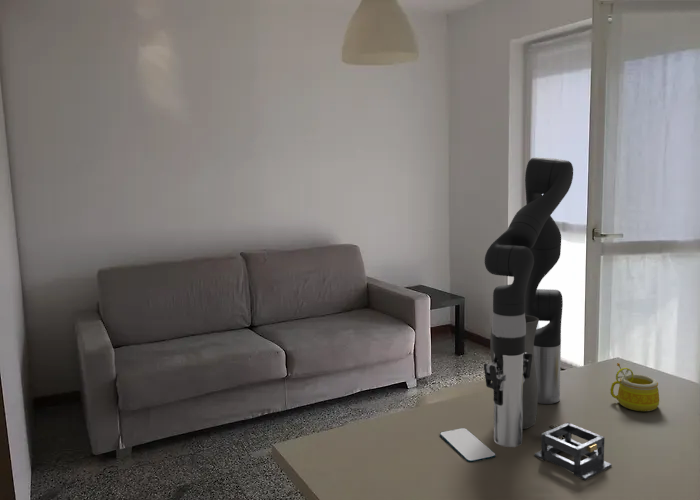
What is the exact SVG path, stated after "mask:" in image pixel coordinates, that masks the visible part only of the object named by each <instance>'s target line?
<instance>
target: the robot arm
mask: <svg viewBox="0 0 700 500" xmlns="http://www.w3.org/2000/svg"><path fill="white" fill-rule="evenodd" d="M524 174H525V175H524V176H525V179H524V185H525V186H524V187H525V201H526V202H525V203H526V204H525V205H524V206H522V207H521V208H520V209H519V210H518V211H517V212H516V214H514V216H513V218H512V220H511V222H510V224H509V226H508V228H507V230H505V231H503V233H502V234H500V235H499V237H498V238H496V239H495V240H494V241H493V242H492V243H491V244H490V245H489V247H488V248H487V250H486V252H485V255H484V266H485V269H486V270H487V272H488V273H490V274H491V275H493V276H501V277H502V276H504V277H513V281H512V283H511V284H502V285H498V286H496V287H495V288H494V290H493V292H492V319H491V328H492V350H493V352H494V354H495V357H494V360H493V362H492V361H491V362H490V363H487V362H486V363H484V365H483V370H484V377H485V378H484V379H485V384H486V385H485V386H486V387H487V388H489V389H492V390H493V403H494V402H495V404H497V405H500V406H501V405H503V391H502V390H503V382H504V381H505V380H506V375H504V376H503V377H499V375H498V373H497V372H498V371H499V369H500V370H502V369H503V358H502V356H503V355H507V356H516V355H521V354H523V371H524V367H525V368H526V371H525V372H523V383H524V381H525V379H526V378H527V379H528V378H529V377H530V370H531V363H532V354H530V353H527V352H525V350H526V319H525V315H529V316H534V317H537V318H538V319H539V321H540V322H548V323H547V324H546V325H544V326H542V327H539V328H537V329H536V333H535V338H534V360H535V368H536V376H537V391H538V401H537V404H544V405H546V404H547V405H551V404H556V403H558V402H560V400H561V399H560V398H561V397H560V396H561V361H562V359H561V358H562V357H561V355H562V354H561V352H562V351H561V350H562V348H561V347H562V317H563V305H564V304H563V295H562V293H561V291H560V290H558V289H545V288H544V289H543V288H542V289H541V288H538V287H539V285H540V283H541V282H542V280H543V279H544V278H545V277H546V276H547V275H548V274H549V273H550V272H551V270H552V269H553V268H554V266H555V265H556V264H557V263H558V261H559V259H560V257H561V248H562V234H561V231H560V228H559V226H558V225H557V223H556V221H555V220H554V218H553V217H552V213H554V212H555V210H556V209H557V208H558V206H559V205H560V204H561V202H562V201H563V200H564V198H565V197H566V196H567V194H568V192H569V191H570V188H571V186H572V184H573V179H574V166H573V164H572V162H571V161H569V160H566V159H562V158H551V157H542V156H534V157H532V158H529V160H528V161H527V164H526V168H525V173H524ZM498 379H500V384H498Z"/></svg>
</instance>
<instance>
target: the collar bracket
mask: <svg viewBox="0 0 700 500" xmlns="http://www.w3.org/2000/svg"><path fill="white" fill-rule="evenodd" d="M572 435H574V436H576V437H578V438H580V439H583V440H586V441H587V442H584V443H581V442H579V441H576V440H574V439H572ZM563 436H564V438H563V439H560V437H563ZM540 438H541V440H540V441H541V442H540V443H541V444H540V445H541V447H540V448H541V449H540V450H539V451H537V452H535V453H534V454H533V455H534V457H536V458H537V459H539V460H542V461H548V462H550V463H552V464H554V465H557V466H558V467H560V468H563V469H565V470H567V471H568V472H571V473H573V475H574V477H577V478H579V479H582V480H584V481H587V480H589V479H591V478H593V477H595V476H596V475H599V474H600V473H602V472H604V471H606V470H608V469H609V468H612V466H613V465H612V463H610V462H608V461H605V436H602V435H600V434H598V433H595V432H593V431H590V430H587V429H586V428H583V427H581V426H578V425H575V424H573V423H570V422H566V423H563V424H561V425H559V426H557V427H554V428H552V429H549V430H546V431H545V432H542V433H541V437H540ZM560 452H563V453H565V454H567V455H570V456H572V457H573V461H572V460H570V459H568V458H566V457H564V456H562V455H559V453H560ZM583 456H586V458H584V459H583V460H581V458H582V457H583Z"/></svg>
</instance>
